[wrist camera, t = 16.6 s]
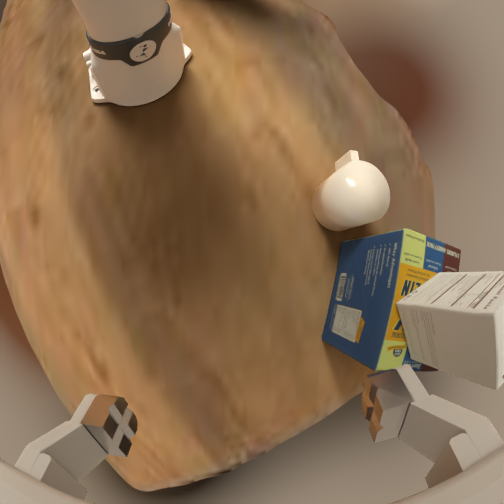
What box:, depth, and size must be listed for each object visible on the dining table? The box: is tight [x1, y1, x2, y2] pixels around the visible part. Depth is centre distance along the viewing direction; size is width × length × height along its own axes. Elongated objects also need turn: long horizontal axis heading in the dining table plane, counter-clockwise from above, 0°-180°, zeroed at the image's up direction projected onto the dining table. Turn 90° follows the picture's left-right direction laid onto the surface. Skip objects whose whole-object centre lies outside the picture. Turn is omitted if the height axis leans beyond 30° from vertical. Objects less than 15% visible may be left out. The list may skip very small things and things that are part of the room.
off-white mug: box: [311, 150, 390, 231], centre depth 37 cm, size 10×8×9 cm
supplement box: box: [396, 271, 504, 390], centre depth 20 cm, size 7×7×13 cm
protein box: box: [322, 228, 461, 372], centre depth 34 cm, size 10×15×16 cm
